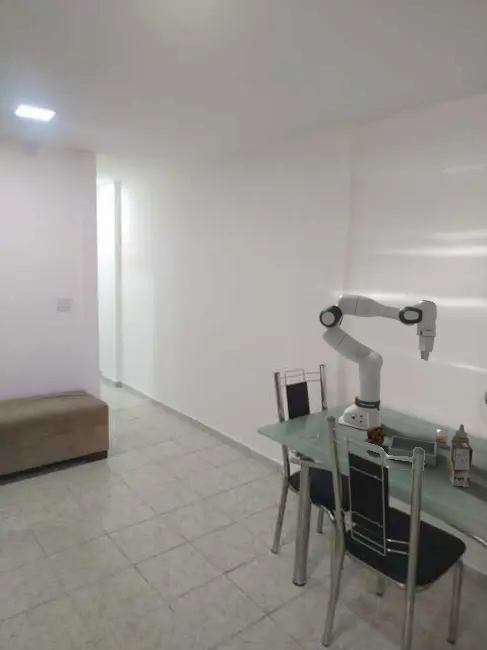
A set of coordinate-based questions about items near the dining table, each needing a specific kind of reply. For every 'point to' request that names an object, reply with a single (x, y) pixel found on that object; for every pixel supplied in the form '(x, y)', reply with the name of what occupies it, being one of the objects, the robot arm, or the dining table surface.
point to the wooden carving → (375, 436)
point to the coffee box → (460, 463)
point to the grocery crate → (406, 446)
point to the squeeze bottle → (461, 435)
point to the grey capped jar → (441, 437)
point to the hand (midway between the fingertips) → (424, 359)
